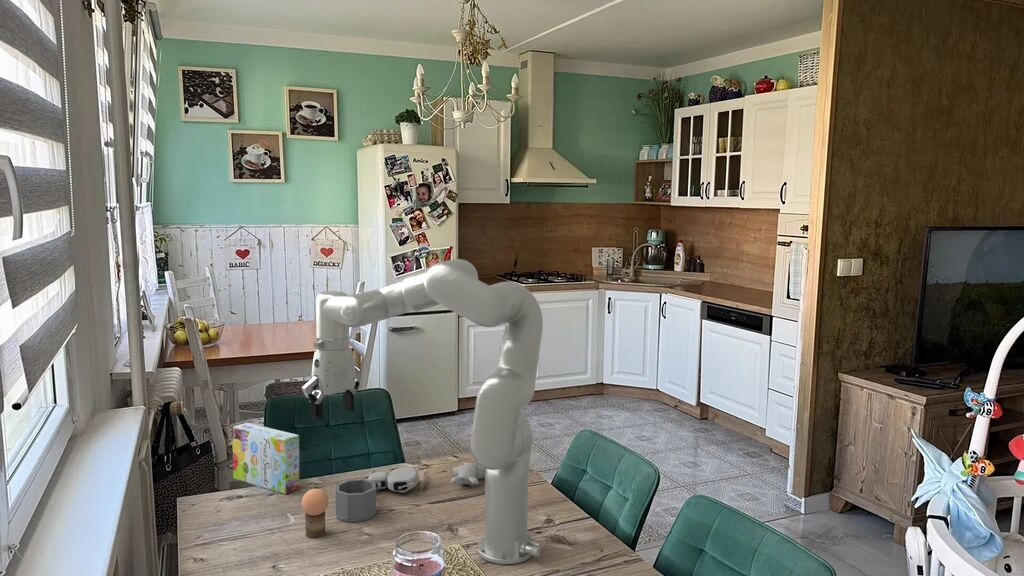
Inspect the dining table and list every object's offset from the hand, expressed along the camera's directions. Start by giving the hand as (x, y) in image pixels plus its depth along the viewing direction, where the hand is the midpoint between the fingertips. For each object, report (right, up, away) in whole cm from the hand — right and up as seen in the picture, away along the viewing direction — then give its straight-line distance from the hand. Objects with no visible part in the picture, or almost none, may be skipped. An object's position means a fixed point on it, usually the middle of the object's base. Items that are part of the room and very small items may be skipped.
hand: (333, 414), depth 170 cm
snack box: (-24, -24, +24) cm, 42 cm away
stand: (-3, -27, -5) cm, 27 cm away
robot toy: (+10, -24, +23) cm, 35 cm away
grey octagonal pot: (+4, -26, +6) cm, 27 cm away
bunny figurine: (+31, -24, +27) cm, 47 cm away
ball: (-3, -19, -6) cm, 20 cm away
